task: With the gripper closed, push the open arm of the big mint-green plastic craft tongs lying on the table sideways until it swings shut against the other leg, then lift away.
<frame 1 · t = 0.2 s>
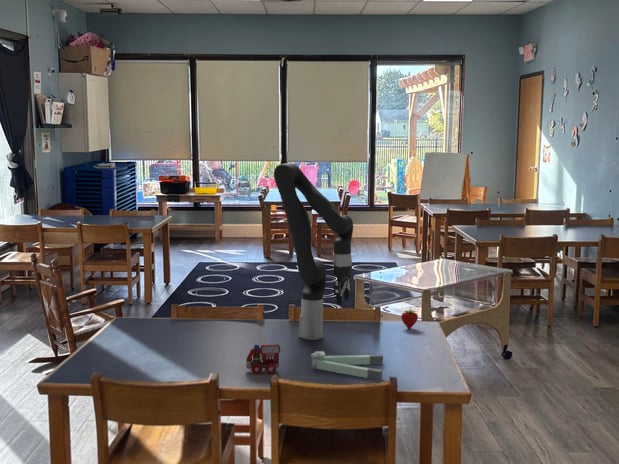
hand: (343, 302, 292), 17 cm above the table, tool pointing down, fingers open, 8 cm apart
strawberry: (409, 328, 315), on the table
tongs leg: (315, 367, 265), on the table
tongs arm: (347, 359, 267), point 3 cm above the table, hinge at 30.0°
toy fire truck: (263, 371, 261), on the table
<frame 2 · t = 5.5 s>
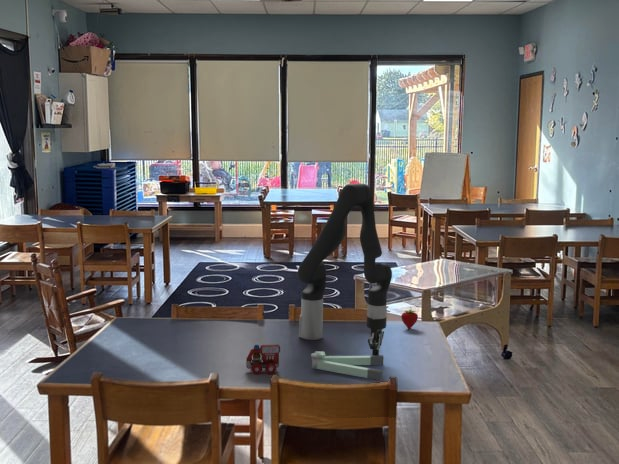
hand: (375, 358, 272), 2 cm above the table, tool pointing down, fingers closed
tongs arm: (347, 359, 267), point 3 cm above the table, hinge at 28.1°, touching gripper
everything else where it was.
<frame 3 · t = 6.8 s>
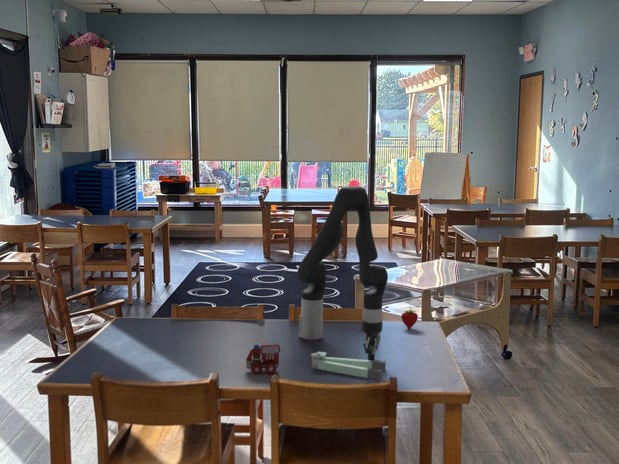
hand: (371, 362, 267), 2 cm above the table, tool pointing down, fingers closed
tongs arm: (347, 362, 264), point 3 cm above the table, hinge at 14.5°, touching gripper
everything else where it was.
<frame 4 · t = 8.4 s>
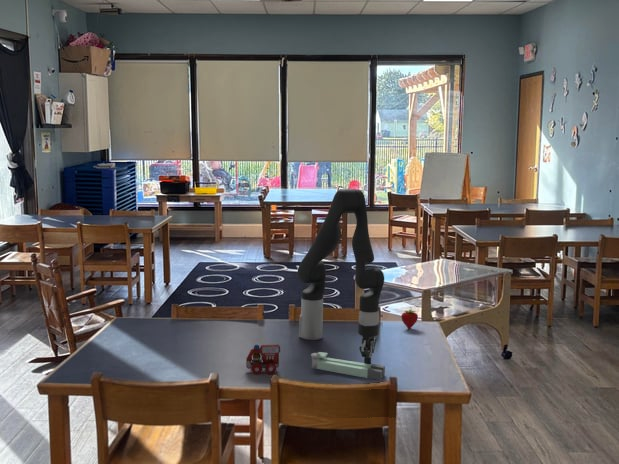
hand: (367, 366, 263), 2 cm above the table, tool pointing down, fingers closed
tongs arm: (346, 364, 261), point 3 cm above the table, hinge at 2.9°, touching gripper
everything else where it was.
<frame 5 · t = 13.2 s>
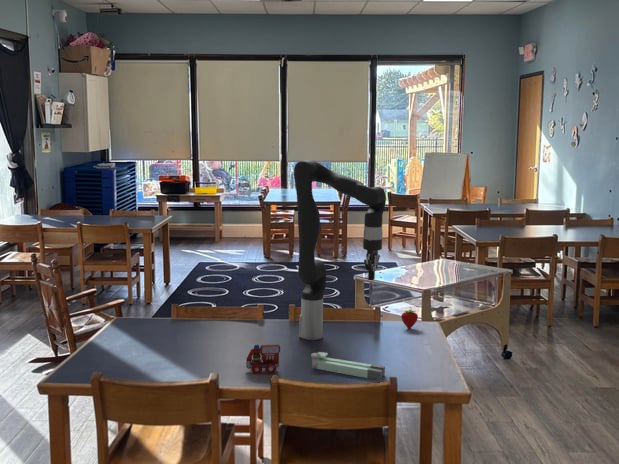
hand: (371, 279, 282), 29 cm above the table, tool pointing down, fingers closed
tongs arm: (346, 364, 261), point 3 cm above the table, hinge at 2.5°
everything else where it was.
at the end: tongs arm at +2° (first picture: +30°) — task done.
